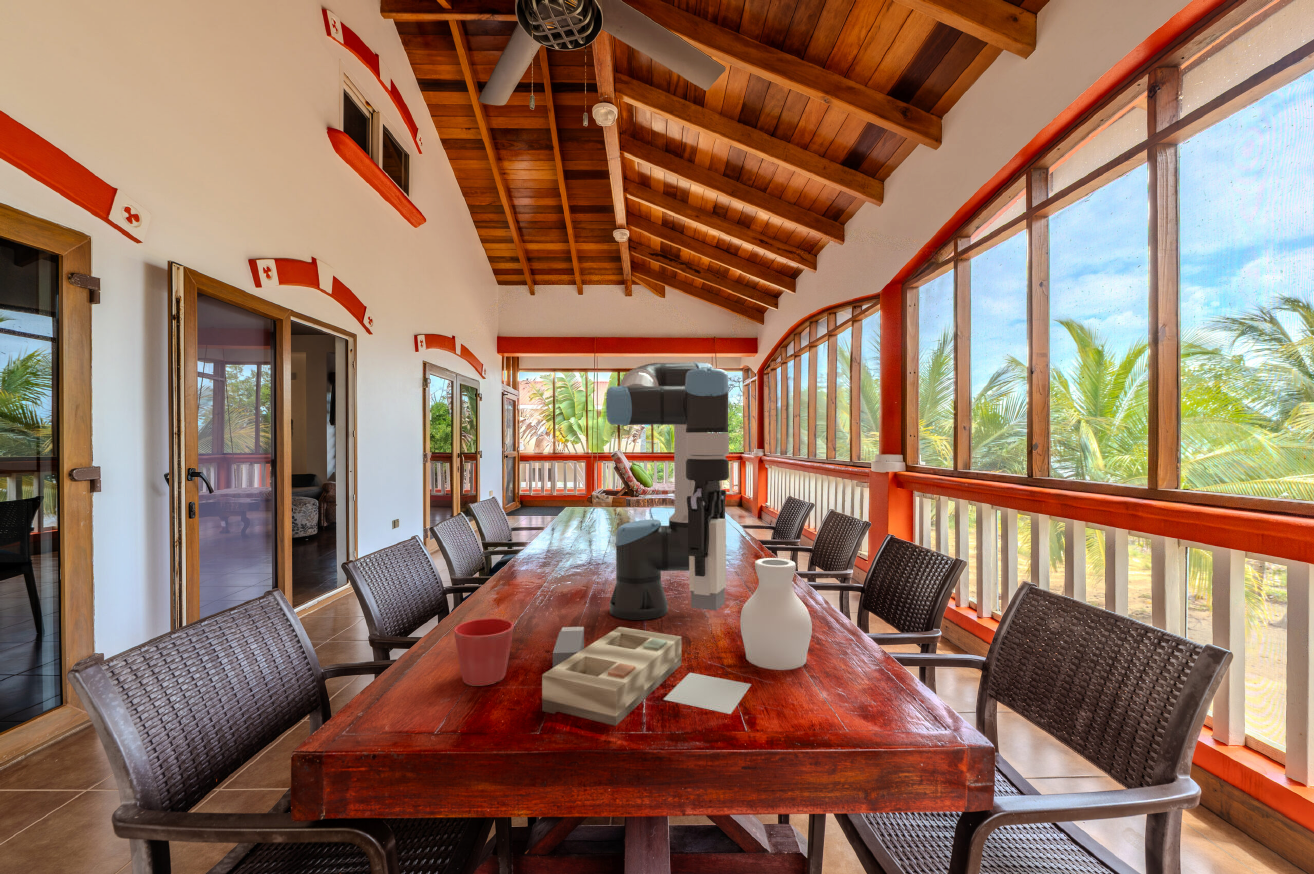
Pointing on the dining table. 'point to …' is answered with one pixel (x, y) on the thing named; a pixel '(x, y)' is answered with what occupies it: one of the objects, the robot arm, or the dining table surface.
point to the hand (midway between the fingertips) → (707, 589)
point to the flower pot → (483, 650)
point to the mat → (708, 692)
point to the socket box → (611, 675)
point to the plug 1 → (568, 644)
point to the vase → (775, 619)
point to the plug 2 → (712, 569)
